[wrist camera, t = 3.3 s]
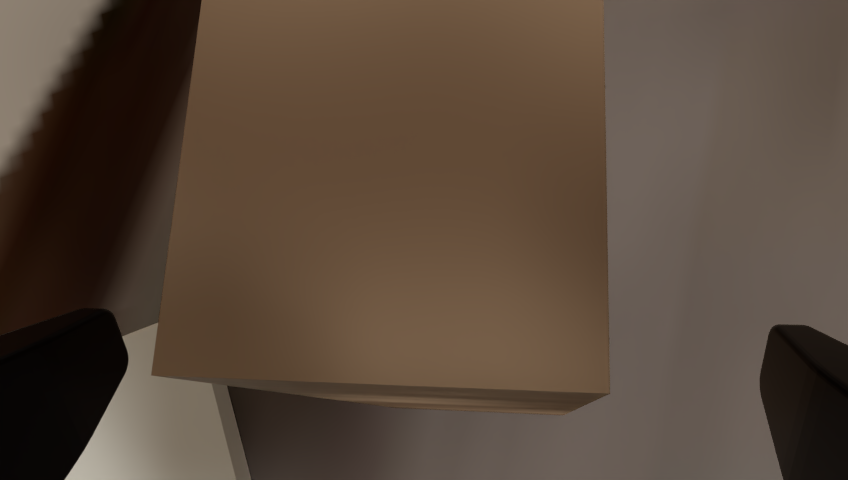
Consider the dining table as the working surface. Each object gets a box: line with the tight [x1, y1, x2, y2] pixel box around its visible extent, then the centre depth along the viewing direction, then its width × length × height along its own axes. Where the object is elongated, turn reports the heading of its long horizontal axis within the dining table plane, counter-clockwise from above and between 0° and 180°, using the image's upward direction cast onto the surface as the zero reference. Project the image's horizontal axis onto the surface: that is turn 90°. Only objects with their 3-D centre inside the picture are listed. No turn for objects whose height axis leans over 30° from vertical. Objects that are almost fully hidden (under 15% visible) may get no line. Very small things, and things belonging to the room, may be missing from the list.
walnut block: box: [151, 0, 610, 415], centre depth 14 cm, size 4×4×13 cm
